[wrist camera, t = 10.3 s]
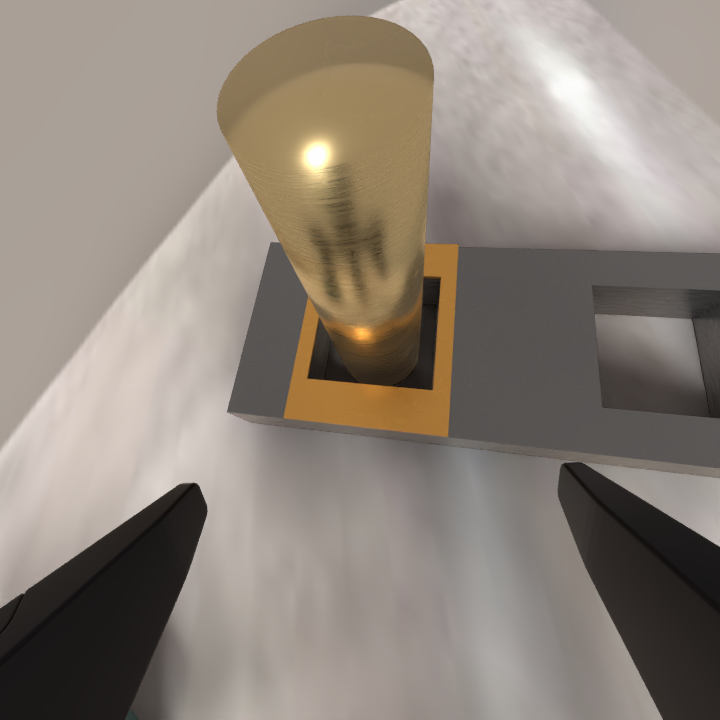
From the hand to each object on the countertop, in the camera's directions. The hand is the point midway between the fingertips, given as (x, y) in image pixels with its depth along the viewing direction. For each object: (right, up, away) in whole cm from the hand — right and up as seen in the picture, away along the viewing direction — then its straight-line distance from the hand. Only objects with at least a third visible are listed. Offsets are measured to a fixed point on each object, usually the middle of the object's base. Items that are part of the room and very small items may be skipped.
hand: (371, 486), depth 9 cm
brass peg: (+1, +4, +10) cm, 10 cm away
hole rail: (+7, +3, +9) cm, 11 cm away
